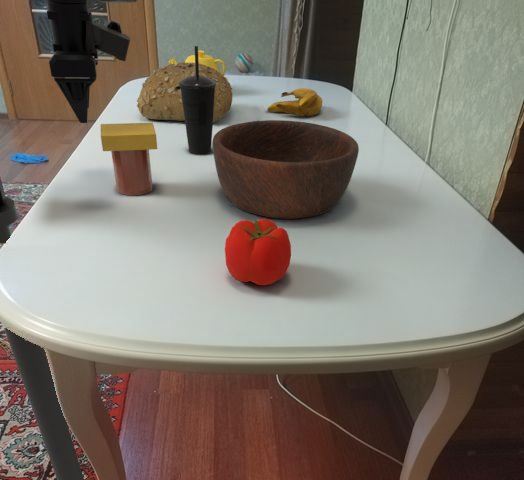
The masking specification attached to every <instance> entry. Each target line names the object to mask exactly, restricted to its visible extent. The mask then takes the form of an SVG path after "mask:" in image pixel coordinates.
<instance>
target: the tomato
mask: <svg viewBox="0 0 524 480" xmlns="http://www.w3.org/2000/svg"><path fill="white" fill-rule="evenodd" d="M278 226H279V225H278V224H277V223H275V222H274V221H272V220H271V219H268V218H260V219H255V218H254V222H253V221H251V220H249V219H242V220H239V221H238V222H236V223H235V224H234V225H233V226H232V227H231V229H230V231H229V233H228V236H227V237H226V238H225V243H224V244H225V245H224V256H225V265H226V268H227V270H228V273H229V274H230V276H231V277H232V278H234V279H235V280H237V281H240V282H243V283H244V282H245V283H247V282H252V283H253V284H256V285H259V286H267V285H268V286H269V285H273V284H274V283H276V282H277V281H280V280H281V279H283V278H284V277H285V276H286V274H287V272H288V270H289V267H290V264H291V257H292V244H291V240H290V237H289V233H288V231H287V230H286V229H285V228H284V227H278Z"/></svg>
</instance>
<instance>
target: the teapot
mask: <svg viewBox="0 0 524 480" xmlns="http://www.w3.org/2000/svg"><path fill="white" fill-rule="evenodd" d="M198 61H199V64H202V65H205V66H209V67H211V68H213V69H215V70H217V71H218V72H220V73H221V75H222V76H224V77H225V78H226V80H227V81H228V82H229V79H228V77H226V76H225V74H226V68H227V67H226V62H224V61H223V60H222V59H220V58H217V59H216V58H214V57H213V56H211V55H209V54H205V51H204V50H198ZM167 62H168V65H169V64H170V63H172V64H173V63H174V64H179V63H178V62H177V61H176V58H175V57H172V58H170V59H169V60H168V61H167ZM184 63H195V54H192V55H191V54H190V55H189V56H187V58H186V59H185V61H184ZM218 63H220V64H221V65H222V72H221V69H220V67H219V65H218Z"/></svg>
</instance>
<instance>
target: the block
mask: <svg viewBox="0 0 524 480" xmlns="http://www.w3.org/2000/svg"><path fill="white" fill-rule="evenodd" d="M100 140H101V141H100V142H101V148H102V152H111V151H124V150H149V151H150V150H158V141H157V133H156V129H155V125H154V123H153V122H130V123H129V122H128V123H125V122H123V123H101V124H100Z"/></svg>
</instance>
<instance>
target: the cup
mask: <svg viewBox="0 0 524 480" xmlns="http://www.w3.org/2000/svg"><path fill="white" fill-rule="evenodd" d="M110 152H111V159H112V166H113V172H114V179H115V187H116V191H117V192H118V193H119V194H121V195H124V196H141V195H142V196H143V195H146V194H148V193H151V192H152V191H153V179H152V178H153V177H152V169H151V157H150V150H124V151H110Z"/></svg>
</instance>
